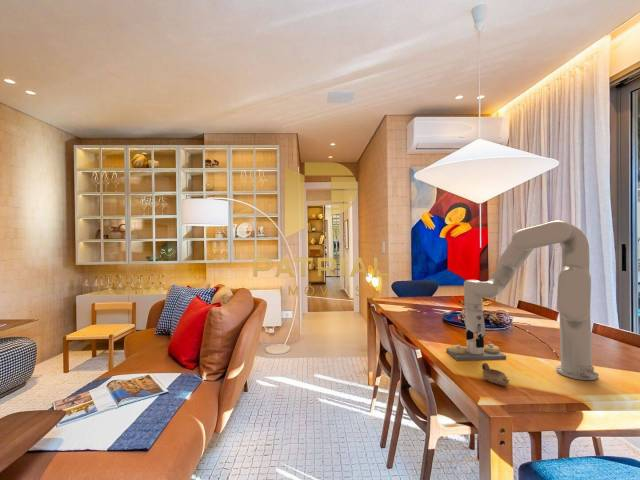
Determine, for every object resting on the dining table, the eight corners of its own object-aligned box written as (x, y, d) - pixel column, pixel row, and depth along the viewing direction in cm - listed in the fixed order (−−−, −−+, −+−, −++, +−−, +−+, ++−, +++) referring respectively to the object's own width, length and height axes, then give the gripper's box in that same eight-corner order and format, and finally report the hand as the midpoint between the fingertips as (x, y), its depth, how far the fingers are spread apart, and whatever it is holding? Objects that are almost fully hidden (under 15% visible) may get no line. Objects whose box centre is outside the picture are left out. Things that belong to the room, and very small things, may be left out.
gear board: (506, 359, 142) (505, 342, 142) (456, 360, 143) (456, 343, 143) (492, 349, 154) (491, 334, 154) (446, 351, 155) (445, 335, 155)
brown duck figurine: (515, 388, 115) (514, 374, 115) (495, 389, 115) (494, 375, 115) (492, 373, 128) (492, 361, 128) (474, 374, 128) (474, 362, 128)
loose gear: (487, 354, 144) (486, 343, 144) (470, 355, 145) (470, 343, 145) (479, 349, 152) (479, 338, 152) (464, 349, 152) (463, 339, 152)
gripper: (491, 310, 140) (492, 350, 140) (473, 303, 157) (474, 338, 157) (474, 311, 140) (475, 350, 140) (457, 303, 157) (458, 338, 157)
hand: (474, 343), depth 148 cm, fingers open, 9 cm apart
